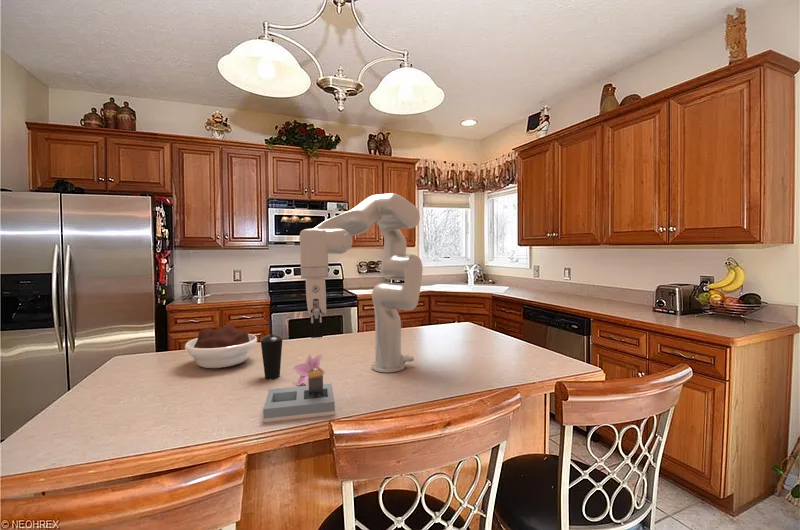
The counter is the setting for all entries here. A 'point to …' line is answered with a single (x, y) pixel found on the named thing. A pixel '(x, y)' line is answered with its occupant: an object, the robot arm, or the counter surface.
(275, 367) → the drinking cup
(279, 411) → the tray
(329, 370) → the counter surface
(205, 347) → the white bowl of brownies
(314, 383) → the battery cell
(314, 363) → the lily
